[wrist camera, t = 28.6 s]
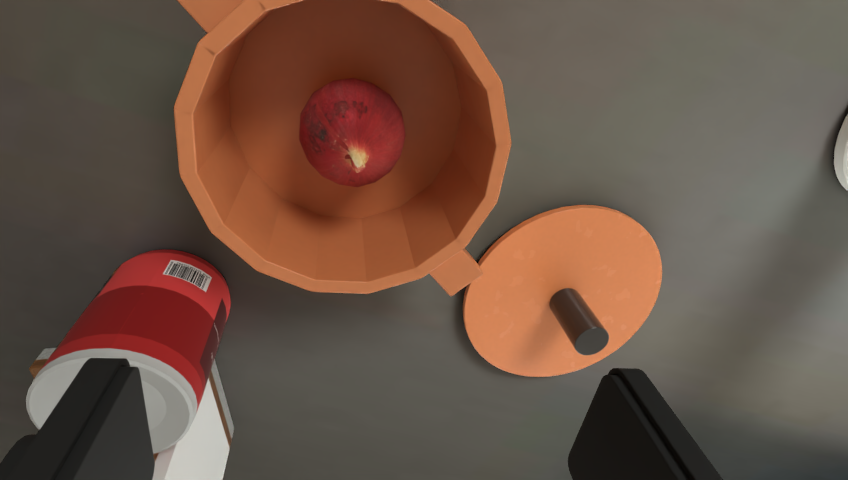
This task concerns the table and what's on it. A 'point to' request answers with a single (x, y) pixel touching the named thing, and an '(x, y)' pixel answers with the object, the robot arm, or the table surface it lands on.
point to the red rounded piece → (352, 132)
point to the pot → (300, 182)
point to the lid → (562, 290)
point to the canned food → (147, 338)
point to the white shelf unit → (191, 435)
